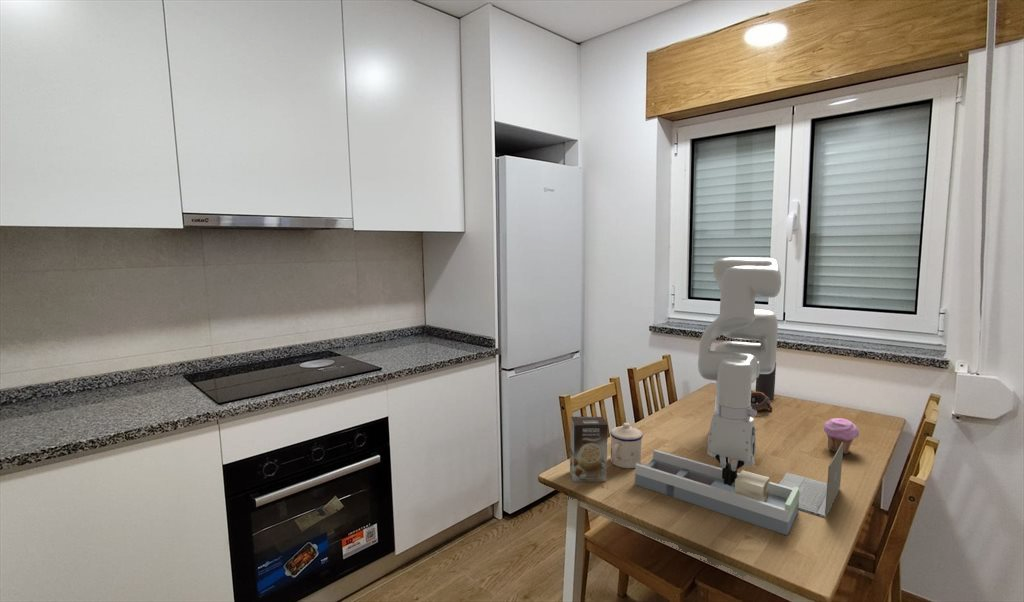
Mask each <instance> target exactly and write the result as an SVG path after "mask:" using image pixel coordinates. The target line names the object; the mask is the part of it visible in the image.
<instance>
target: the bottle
mask: <svg viewBox="0 0 1024 602" xmlns="http://www.w3.org/2000/svg"><path fill="white" fill-rule="evenodd" d="M776 369H777V362H775V368H774V370H773V372H772V373H770V374H759V377H758V378H756V380H755V391H754V392H762V393H764V394H765V395H766V396H767V397H768V398H769V399H770V401H772V400H774V399H775V386H776V373H777V372H776ZM757 397H759V396H757Z"/></svg>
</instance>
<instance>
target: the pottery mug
mask: <svg viewBox="0 0 1024 602" xmlns="http://www.w3.org/2000/svg"><path fill="white" fill-rule="evenodd" d="M757 396H759V397H757ZM750 406H751V408H752V409H753V410H755V411H757V412H758V411H762V410H765V409H766V410H768V409H769V410H770V412H771V413H772V412H773V406H772V401H771V400H770V399H769V398H768V397H767V396H766V395H765V394H764V393H762V392H755V391H752V390H751V405H750ZM769 410H768V411H769Z"/></svg>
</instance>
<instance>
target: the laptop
mask: <svg viewBox="0 0 1024 602" xmlns="http://www.w3.org/2000/svg"><path fill="white" fill-rule="evenodd" d="M835 452H836V451H835ZM843 455H844V454H843V442H842V443H841V445H840V447H839V449H838V450H837V452H836V453H835V454H834V455H833V458H832V460H831V461H830V463H829V465H828V470H827V482H824V481H819V480H817V479H816V480H815V479H812V478H809V477H806V476H802V475H798V474H794V473H791V472H786V473H785V474H784V475H783V477H782V478H781V480H780V481H779V483H778V484H780V485H783V486H787V487H790V488H794V486H795V487H798V488H799V490H800V493H799V507H798V511H799V510H800V511H802V512H805V513H809V514H812V515H815V516H818V517H822V518H825V519H826V518H827V516H828V514H829V513H830V511H831V508H832V505H833V504H832V503H834V502H835V500H836V497H837V495H838V493H839V491H840V490H841V489H840V488H841V480H842V469H843V468H842V467H843V466H842V465H843ZM834 499H835V500H834Z"/></svg>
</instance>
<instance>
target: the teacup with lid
mask: <svg viewBox="0 0 1024 602" xmlns="http://www.w3.org/2000/svg"><path fill="white" fill-rule="evenodd" d="M643 437H644V436H643V433H642V431H641V430H640V429H638V428H636V427H633V426H631V424H630V423H629V422H624V423H623V424H622V425H621V426H616V427H613V428H612V429H611V430H610V462H611V464H613V465H614V466H616V467H618V468H622V469H635V465H636V464H637V463H638V464H641V465H642V445H643V443H642V441H643Z"/></svg>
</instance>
